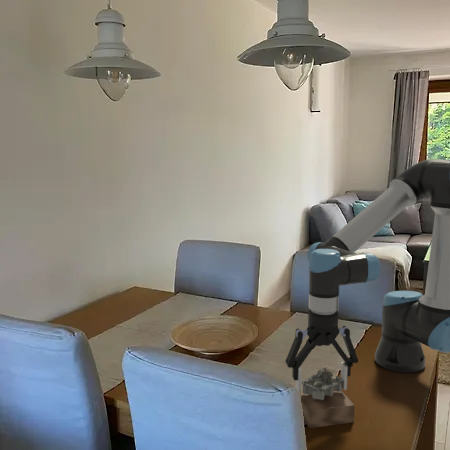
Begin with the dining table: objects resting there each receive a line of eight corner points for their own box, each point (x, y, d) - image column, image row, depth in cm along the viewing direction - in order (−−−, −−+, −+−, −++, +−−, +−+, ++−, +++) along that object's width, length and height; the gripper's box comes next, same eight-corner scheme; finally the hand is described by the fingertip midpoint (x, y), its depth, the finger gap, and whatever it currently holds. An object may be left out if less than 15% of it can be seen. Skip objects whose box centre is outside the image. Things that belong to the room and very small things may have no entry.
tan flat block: (330, 396, 142) (330, 379, 141) (353, 423, 129) (354, 405, 128) (289, 401, 139) (290, 384, 139) (309, 429, 126) (309, 411, 125)
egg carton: (326, 380, 139) (326, 366, 138) (347, 391, 133) (347, 376, 132) (297, 390, 133) (297, 376, 132) (317, 402, 127) (318, 387, 126)
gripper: (362, 302, 134) (358, 379, 138) (274, 307, 131) (273, 385, 135) (374, 312, 127) (370, 392, 131) (281, 317, 124) (280, 399, 128)
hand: (321, 389), depth 133 cm, fingers closed on egg carton, 11 cm apart
